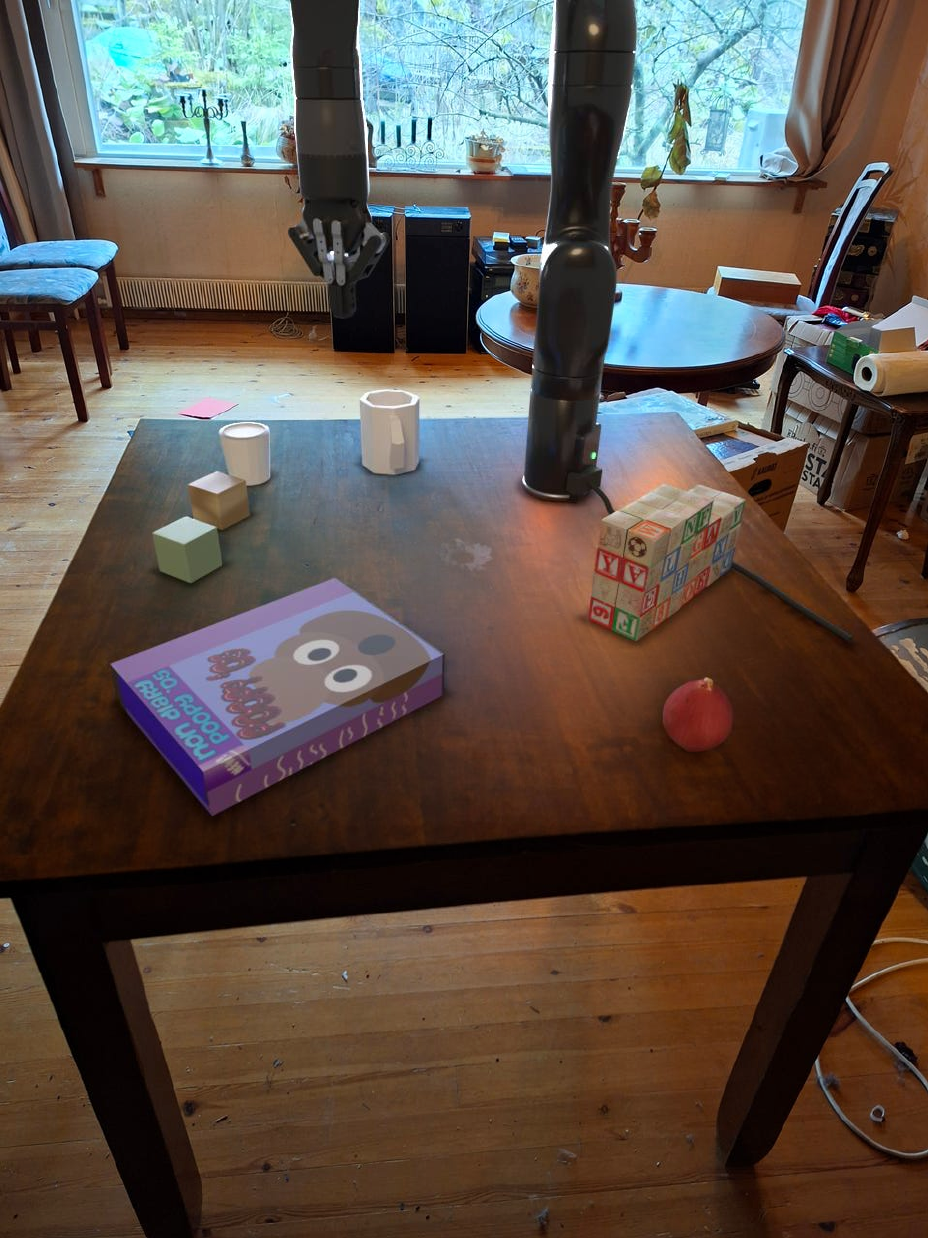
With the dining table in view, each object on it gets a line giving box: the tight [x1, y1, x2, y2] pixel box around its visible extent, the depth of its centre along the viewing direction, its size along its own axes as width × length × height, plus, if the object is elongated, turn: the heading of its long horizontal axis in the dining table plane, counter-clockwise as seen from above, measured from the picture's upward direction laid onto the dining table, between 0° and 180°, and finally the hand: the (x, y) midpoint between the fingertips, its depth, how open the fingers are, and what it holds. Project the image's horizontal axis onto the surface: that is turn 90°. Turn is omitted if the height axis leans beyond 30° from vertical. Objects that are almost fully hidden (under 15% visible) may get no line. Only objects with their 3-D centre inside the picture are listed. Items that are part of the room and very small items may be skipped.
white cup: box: [218, 421, 271, 487], centre depth 116 cm, size 7×7×7 cm
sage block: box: [151, 516, 223, 584], centre depth 95 cm, size 5×5×5 cm
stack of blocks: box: [587, 483, 747, 642], centre depth 92 cm, size 21×6×12 cm, turn 138°
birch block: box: [187, 470, 251, 531], centre depth 106 cm, size 5×5×5 cm
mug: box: [359, 389, 420, 476], centre depth 119 cm, size 12×9×10 cm
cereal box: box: [109, 577, 445, 817], centre depth 76 cm, size 17×5×24 cm
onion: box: [662, 677, 734, 753], centre depth 71 cm, size 6×6×8 cm
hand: (343, 316), depth 98 cm, fingers closed
